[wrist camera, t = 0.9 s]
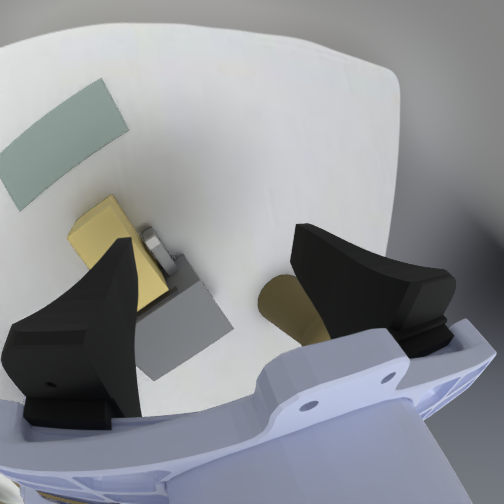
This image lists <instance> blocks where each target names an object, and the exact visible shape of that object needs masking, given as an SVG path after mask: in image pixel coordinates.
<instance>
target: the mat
mask: <svg viewBox="0 0 504 504" xmlns="http://www.w3.org/2000/svg"><path fill="white" fill-rule="evenodd" d="M128 130H129V129H128V127H127V126H126V124H125V122H124V120H123V118H122V116H121V114H120V113H119V111H118V109H117V107H116V105H115V103H114V101H113V99H112V98H111V96H110V94H109V92H108V90H107V88H106V86H105V84H104V82H103V80H102V78H101V79H99V80H97V81H95V82H94V83H92V84H91V85H89V86H87V87H86V88H84V89H83V90H81V91H79V92H78V93H76V94H75V95H73V96H72V97H70V98H69V99H67V100H66V101H64V102H63V103H62V104H60V105H59V106H57V107H56V108H55V109H53V110H52V111H50V112H49V113H48V114H46V115H45V116H44V117H42V118H41V119H40V120H39V121H37V122H36V123H35V124H34V125H32V126H31V127H30V128H29V129H27V130H26V131H25V132H24V133H23V134H21V135H20V136H19V137H18V138H17V139H16V140H15V141H13V142H12V143H11V144H10V145H9V146H8V147H7V148H6V149H5V150H3V151H2V152H1V153H0V178H1V180H2V182H3V184H4V186H5V187H6V189H7V191H8V193H9V195H10V196H11V198H12V200H13V201H14V203H15V205H16V206H17V208H18V210H19V211H21V210H22V209H23V208H25V207H26V206H27V205H28V204H29V203H30V202H31V201H32V200H34V199H35V198H36V197H37V196H38V195H39V194H41V193H42V192H43V191H44V190H45V189H47V188H48V187H49V186H50V185H51V184H53V183H54V182H55V181H56V180H58V179H59V178H60V177H62V176H63V175H64V174H65V173H67V172H68V171H69V170H71V169H72V168H73V167H75V166H76V165H77V164H79V163H80V162H82V161H83V160H84V159H86V158H87V157H89V156H90V155H91V154H93V153H94V152H96V151H97V150H99V149H100V148H102V147H103V146H105V145H106V144H108V143H109V142H111V141H112V140H114V139H116V138H117V137H119V136H120V135H122V134H123V133H125V132H127V131H128Z"/></svg>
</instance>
